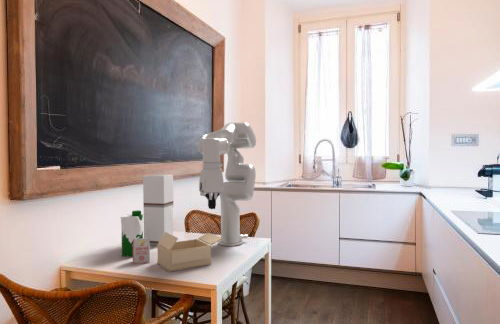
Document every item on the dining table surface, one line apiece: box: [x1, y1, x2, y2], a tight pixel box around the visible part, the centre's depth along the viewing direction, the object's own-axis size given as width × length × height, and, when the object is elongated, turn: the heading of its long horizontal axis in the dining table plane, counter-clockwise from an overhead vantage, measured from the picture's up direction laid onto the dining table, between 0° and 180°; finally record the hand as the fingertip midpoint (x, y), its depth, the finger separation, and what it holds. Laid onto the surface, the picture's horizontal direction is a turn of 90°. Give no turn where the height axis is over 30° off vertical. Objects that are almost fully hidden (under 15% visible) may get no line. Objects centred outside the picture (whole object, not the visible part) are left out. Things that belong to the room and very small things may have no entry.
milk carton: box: [120, 209, 144, 258], centre depth 176 cm, size 9×9×20 cm
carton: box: [156, 238, 212, 273], centre depth 161 cm, size 18×15×8 cm
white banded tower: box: [142, 174, 174, 246], centre depth 199 cm, size 11×11×35 cm
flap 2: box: [197, 232, 222, 246], centre depth 167 cm, size 1×13×6 cm
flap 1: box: [158, 232, 179, 250], centre depth 157 cm, size 1×13×6 cm
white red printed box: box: [132, 237, 151, 264], centre depth 164 cm, size 4×7×10 cm, turn 101°
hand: (212, 208), depth 168 cm, fingers closed
